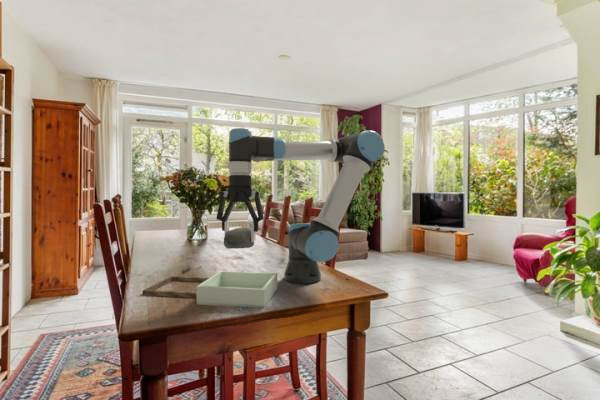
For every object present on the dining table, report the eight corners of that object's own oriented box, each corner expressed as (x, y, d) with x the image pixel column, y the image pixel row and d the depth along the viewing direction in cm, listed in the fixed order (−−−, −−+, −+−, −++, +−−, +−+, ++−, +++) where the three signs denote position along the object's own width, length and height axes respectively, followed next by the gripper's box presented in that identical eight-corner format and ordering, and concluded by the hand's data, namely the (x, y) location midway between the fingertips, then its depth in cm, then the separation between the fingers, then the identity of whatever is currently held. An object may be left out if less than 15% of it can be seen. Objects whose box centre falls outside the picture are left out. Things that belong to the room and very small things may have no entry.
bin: (277, 288, 128) (277, 273, 127) (264, 308, 107) (264, 289, 107) (220, 286, 131) (220, 270, 130) (196, 304, 110) (196, 286, 110)
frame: (224, 282, 136) (224, 278, 136) (203, 298, 116) (203, 293, 116) (171, 279, 139) (171, 276, 139) (142, 294, 119) (142, 290, 119)
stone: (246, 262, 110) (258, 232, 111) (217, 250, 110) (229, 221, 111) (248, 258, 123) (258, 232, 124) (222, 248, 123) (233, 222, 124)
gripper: (273, 175, 120) (272, 240, 120) (214, 175, 122) (214, 238, 123) (268, 174, 112) (268, 243, 113) (205, 174, 115) (205, 241, 116)
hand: (240, 240), depth 118 cm, fingers closed on stone, 9 cm apart
